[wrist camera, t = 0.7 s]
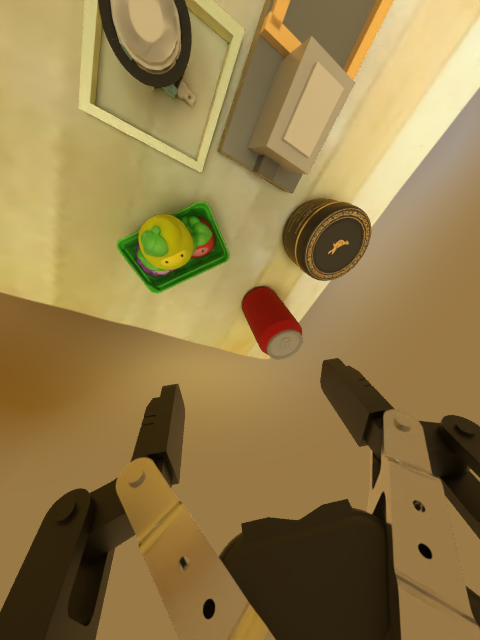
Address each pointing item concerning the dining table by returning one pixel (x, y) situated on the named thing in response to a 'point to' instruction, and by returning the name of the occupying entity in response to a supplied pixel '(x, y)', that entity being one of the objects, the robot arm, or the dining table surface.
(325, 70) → the gray stepped base block
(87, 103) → the parts tray
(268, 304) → the beverage can
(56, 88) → the dining table surface
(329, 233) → the jar
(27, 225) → the dining table surface
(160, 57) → the black and tan cylinder
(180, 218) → the fruit basket
